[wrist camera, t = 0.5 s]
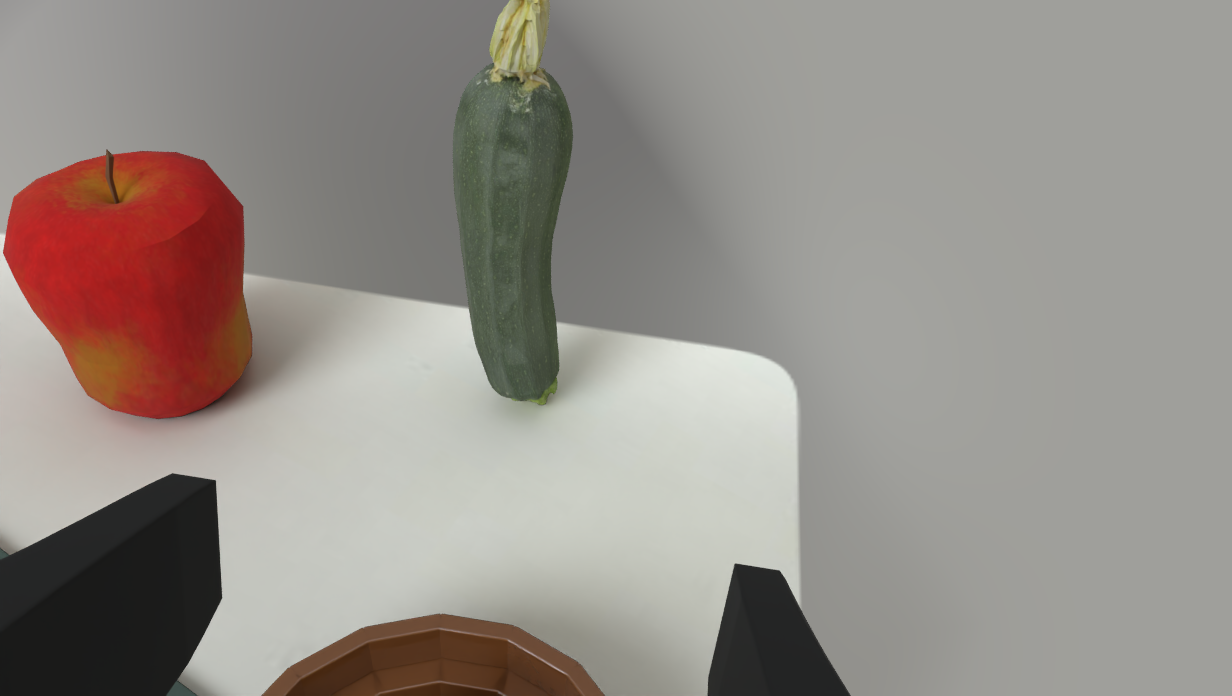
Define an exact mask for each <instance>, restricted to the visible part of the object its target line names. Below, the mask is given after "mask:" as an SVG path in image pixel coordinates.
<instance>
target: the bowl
mask: <svg viewBox="0 0 1232 696" xmlns="http://www.w3.org/2000/svg"><path fill="white" fill-rule="evenodd" d="M262 696H605V695H604V694H603V693H602V691H601V690H600V689H599V688H598V686H597V685H596V684H595V682H594V681H593V680H592V679H591V677H590V676H589V675H588V673H587V672H586V671H585V669H584V668H583V667H582V666H581V665H580V664H579V663H578V662H577V661H575V660H574V659H572V658H570V657H568V656H567V655H565V654H563V653H561V652H560V651H558V650H556V649H555V648H553V647H551V646H549V645H548V644H546V643H544V642H543V641H541V640H539V639H537V638H536V637H534V636H532V635H531V634H529V633H527V632H525V631H524V630H522V629H520V628H518V627H516V626H513V625H509V624H503V623H496V622H490V621H484V620H478V619H472V618H466V617H460V616H454V615H448V614H434V615H429V616H423V617H418V618H412V619H406V620H401V621H395V622H389V623H384V624H378V625H373V626H367V627H364V628H361V629H359V630H357V631H355V632H353V633H352V634H350V635H348V636H346V637H344V638H342V639H340V640H339V641H337V642H335V643H333V644H331V645H329V646H327V647H326V648H324V649H322V650H320V651H318V652H316V653H314V654H313V655H311V656H309V657H307V658H305V659H303V660H301V661H300V662H298V663H296V664H294V665H292V666H291V667H290V668H287V669H286V671H285V672H284V673H283V674H282V675H281V676H280V677H279V678H278V679H277V680H276V681H275V682H274V683H273V684H272V685H271V686H270V687H269V688H268V689H267V690H266V691H265V692H264V693H263V694H262Z"/></svg>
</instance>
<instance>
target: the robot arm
mask: <svg viewBox="0 0 1232 696" xmlns="http://www.w3.org/2000/svg"><path fill="white" fill-rule="evenodd" d="M221 599H222V587H221V568H220V550H219V531H218V512H217V494H216V480H210V479H204V478H198V477H192V476H185V475H179V474H173V473H172V474H170V475H168V476H166V477H164V478H161V479H159V480H157V481H155V482H153V483H151V484H149V485H147V486H145V487H143V488H141V489H139V490H137V491H135V492H133V493H131V494H129V495H127V496H125V497H123V498H121V499H119V500H118V501H116V502H114V503H112V504H110V505H108V506H106V507H104V508H102V509H100V510H98V511H97V512H95V513H93V514H91V515H89V516H87V517H85V518H83V519H81V520H79V521H77V522H75V523H73V524H71V525H69V526H68V527H66V528H64V529H62V530H60V531H58V532H56V533H54V534H52V535H50V536H48V537H46V538H44V539H42V540H40V541H38V542H36V543H34V544H32V545H30V546H28V547H26V548H24V549H22V550H20V551H18V552H16V553H14V554H11V555H9V556H7V557H5V558H3V559H1V560H0V696H166V695H167V694H168V692H169V691H170V689H171V688H172V687H173V685H174V684H175V682H176V681H177V679H178V678H179V676H180V675H181V673H182V672H183V670H184V669H185V667H186V666H187V665H188V663H189V661H190V659H191V657H192V656H193V654H194V652H195V650H196V648H197V646H198V645H199V643H200V641H201V639H202V637H203V635H204V633H205V631H206V629H207V627H208V625H209V623H210V621H211V619H212V617H213V615H214V613H215V611H216V609H217V607H218V605H219V603H220V601H221ZM708 696H850V694H849V692H848V691H847V689H846V687H845V686H844V684H843V682H842V681H841V679H840V678H839V676H838V674H837V673H836V671H835V669H834V668H833V666H832V665H831V663H830V661H829V660H828V658H827V656H826V654H825V653H824V651H823V649H822V647H821V646H820V644H819V642H818V640H817V639H816V637H815V635H814V633H813V632H812V630H811V628H810V626H809V624H808V622H807V620H806V618H805V617H804V615H803V613H802V611H801V609H800V607H799V605H798V603H797V601H796V599H795V597H794V595H793V593H792V591H791V589H790V587H789V585H788V583H787V581H786V579H785V578H784V576H783V575H782V574H781V572H780V571H779V570H773V569H766V568H760V567H754V566H748V565H741V564H735V565H734V569H733V574H732V578H731V582H730V587H729V591H728V595H727V599H726V604H725V608H724V612H723V617H722V621H721V625H720V630H719V634H718V638H717V642H716V647H715V651H714V655H713V660H712V664H711V668H710V673H709V677H708Z"/></svg>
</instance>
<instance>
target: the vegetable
mask: <svg viewBox="0 0 1232 696" xmlns="http://www.w3.org/2000/svg"><path fill="white" fill-rule="evenodd" d="M549 9H550V3H549V0H510V1H509V3H508V4H507V5H506V6H505V8H504V9H503V12H502V13H501V14H500V15H499V17H498V20H497V23H496V27H495V30H494V33H493V36H492V39H491V44H490V55H491V57H492V58H493V63H492V64H490V65H488V66H486V67H485V68H484V69H483V70H482V71H480V73H478V74H477V75H476V76H475V77H474V78H473V79H472V80H471V81H470V82H469V84H468V85H467V87H466V89H465V91H464V93H463V95H462V98H461V101H460V105H459V107H458V111H457V115H456V120H455V127H454V134H453V174H454V176H453V177H454V194H455V201H456V209H457V216H458V222H459V228H460V240H461V250H462V257H463V265H464V272H465V280H466V288H467V296H468V304H469V312H470V318H471V324H472V331H473V336H474V340H475V344H476V347H477V350H478V353H479V356H480V358H481V361H482V363H483V366H484V369H485V372H486V375H487V377H488V380H489V382H490V384H491V386H492V388H493V389H494V390H495V391H496V392H497V393H499V394H500V395H501V396H504V397H508V398H511V399H512V400H514V401H523V400H530V401H531V402H535V403H538V404H539V405H544V404H546V401H547V400H546V399H547V397H548V395H549V393H553V394H554V393H555V392H556V390H557V378H556V376H557V374H558V371H559V352H558V343H557V326H556V317H555V309H554V303H553V297H552V291H551V251H552V239H553V233H554V229H555V225H556V220H557V215H558V210H559V205H560V200H561V196H562V192H563V189H564V185H565V181H566V177H567V173H568V168H569V163H570V157H571V151H572V140H573V131H572V122H571V116H570V111H569V108H568V105H567V102H566V99H565V96H564V94H563V92H562V90H561V88H560V86H559V85H558V83H557V82H556V81H555V80H554V78H553V77H552V76H551V75H550V74H548V73H547V72H546V71H545V69H543V68H540V67H539V66H540V60H541V56H542V52H543V49H544V46H545V43H546V37H547V31H548V24H549Z"/></svg>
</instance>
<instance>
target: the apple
mask: <svg viewBox="0 0 1232 696" xmlns="http://www.w3.org/2000/svg"><path fill="white" fill-rule="evenodd" d="M243 218H244V216H243V206H242V204H241V203H240V202H239V201H238V200H237V199H236V197H235V196H234V195H233V194H232V193H231V191H230V190H229V189H228V188H227V187H226V186H225V184H224V183H223V182H222V181H221V180H220V178H219V177H218V176H217V175H216V174H215V173H214V171H213V170H212V169H211V168H210V167H209V166H208V164H207V163H206V162H205V161H204V160H200V159H197V158H193V157H190V156H187V155H184V154H180V153H177V152H152V151H139V152H131V153H122V154H114V155H112V154H111V153H110V152H109V151H108V150H106V155H105V156H100V157H97V158H92V159H89V160H84V161H80V162H77V163H75V164H73V165H71V166H68V167H66V168H64V169H61V170H59V171H57V172H54V173H51V174H48V175H46V176H43V177H41V178H39V179H36V180H35V181H34V182H32V183H31V184H30V185H28V186H27V187H26V188H25V189H23V190H22V191H21V192H19V193H18V194H17V195H16V196H14V198H13V202H12V207H11V211H10V215H9V219H8V225H7V231H6V237H5V243H4V250H3V254H4V256H5V258H6V261H7V263H8V265H9V267H10V269H11V271H12V274H13V276H14V278H15V280H16V282H17V283H18V285H19V287H20V289H21V291H22V293H23V294H24V296H25V298H26V300H27V301H28V303H29V305H30V306H31V308H32V310H33V311H34V313H35V314H36V315H37V316H38V318H39V319H40V320H41V321H42V322H43V324H44V325H45V326H46V327H47V329H48V330H49V331H50V332H51V334H52V335H53V336H54V337H55V339H56V340H57V341H58V342H59V343H60V345H61V347H62V349H63V351H64V353H65V355H66V357H67V359H68V361H69V363H70V366H71V368H72V370H73V372H74V374H75V376H76V378H77V379H78V381H79V382H80V384H81V386H82V387H83V389H84V390H85V392H86V393H87V395H88V396H90V397H91V398H93V399H95V400H96V401H98V402H100V403H101V404H103V405H104V406H106V407H108V408H109V409H111V410H115V411H119V412H124V413H128V414H132V415H136V416H142V417H149V418H156V419H160V418H169V417H178V416H183V415H186V414H189V413H191V412H194V411H197V410H200V409H203V408H205V407H206V406H208V405H209V404H211V403H212V402H214V401H216V400H217V399H219V398H220V397H221V396H222V395H223V394H224V393H225V392H226V391H227V390H228V389H229V388H230V387H231V386H232V385H233V384H234V383H235V382H236V381H237V380H238V379H239V378H240V377H241V375H242V373H243V371H244V369H245V367H246V365H247V364H248V362H249V360H250V358H251V356H252V332H251V328H250V323H249V318H248V314H247V309H246V304H245V300H244V295H243V271H244V219H243Z"/></svg>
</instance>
